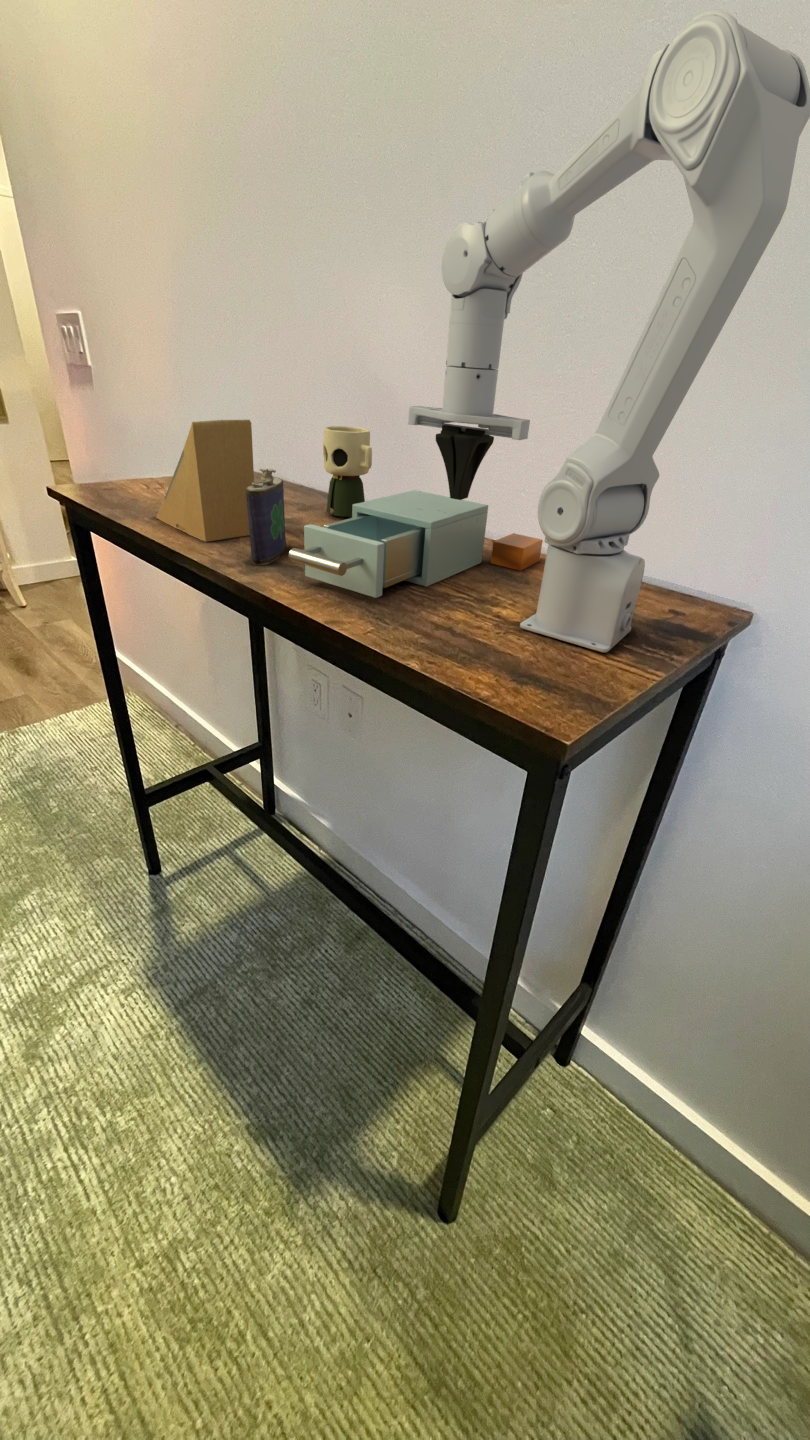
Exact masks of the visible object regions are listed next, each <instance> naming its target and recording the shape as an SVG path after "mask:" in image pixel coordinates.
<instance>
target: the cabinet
mask: <svg viewBox="0 0 810 1440" xmlns="http://www.w3.org/2000/svg"><path fill="white" fill-rule="evenodd" d="M365 514H368V515H372V516H376V517H380V518H385V519H389V520H393V521H397V522H402V523H406V524H410V525H414V526H419V527H423V528H426V529H425V541H424V554H423V567H422V573H421V574H418V575H416V576H413V577H411V578H408V579H406V580H404V581H405V582H409V583H412V584H415V585H418V586H422V587H425V588H427V587H429V586H432V585H434V584H436V583H438V582H441V581H443V580H445V579H448V578H450V577H452V576H455V575H456V574H459V573H461V572H464V571H466V570H468V569H470V568H473V567H475V566H478V565H480V564H481V563H482V560H483V553H484V546H485V537H486V529H487V521H488V514H489V504H486V503H480V502H475V501H471V500H465V499H462V500H457V499H452V498H450V496H445V495H440V494H436V493H431V492H426V491H421V490H416V489H413V490H410V491H404V492H400V493H396V494H391V495H388V496H383V497H379V498H375V499H370V500H365V502H361V503H357V504H353V505H352V518H354V517H358V516H362V515H365Z"/></svg>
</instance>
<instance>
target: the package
mask: <svg viewBox="0 0 810 1440" xmlns="http://www.w3.org/2000/svg"><path fill="white" fill-rule="evenodd" d="M543 542H544V541H543V539H541V538H537V537H532V536H528V535H524V534H519V533H514V532H513V533H510V534H507V535H505V536H503V537H501V538H498V539H496V540H493V541H492V547H491V548H492V549H491V555H490V562H489V563H490V564H492V565H496V566H499V567H504V568H507V569H512V570H515V571H519V572H521V571H522V570H525V569H527V568H528V567H530V566H533V565H535V564H536V563H539V562H540V558H541V553H542V547H543Z"/></svg>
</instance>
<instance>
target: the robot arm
mask: <svg viewBox="0 0 810 1440" xmlns="http://www.w3.org/2000/svg"><path fill="white" fill-rule="evenodd" d="M809 119H810V83H809V78H808V75H807V71H806V68H805V65H804V62H803V61H802V60H801V58H800V57H799V56H798V55H797V54H796V53H794V52H792V51H790V50H789V49H782V48H779V47H778V46H776V45H775V44H773V43H771V42H770V41H768V40H766V39H765V38H763V37H762V36H761V35H758V34H757V33H755V32H753V31H751V30H750V29H749V28H747V27H745V26H743V25H742V24H740V23H739V22H738V20H737V18H736V17H734V16H733V15H731V14H730V13H729V12H727V11H726V10H723V9H710V10H709V9H708V10H706V11H703V12H701V13H699V14H698V15H696V16H694V17H693V18H692V19H690V20H689V21H688V22H687V23H686V24H685V25H684V26H683V27H682V28H680V30H679V31H678V33H676V35H675V36H674V37H673V39H672V40H671V42H670V43H668V44H666V45H664V46H663V47H661V48H660V49H659V50H658V51H656V52H655V53H654V54H653V55H652V56H651V57H650V59H649V61H648V63H647V66H646V69H645V70H644V74H643V77H642V80H641V83H640V85H639V87H638V88H637V89H636V90H635V91H634V92H633V93H632V94H631V96H629V97H628V98H627V100H625V101H624V102H623V103H622V105H621V106H619V108H618V109H617V110H616V111H615V112H613V114H612V115H611V116H610V117H609V118H608V119H607V120H606V121H605V122H604V123H603V124H602V125H601V126H600V127H599V128H598V129H597V131H595V132H594V134H593V135H591V137H590V138H589V139H588V140H587V141H586V142H585V143H584V144H583V145H582V146H581V147H580V148H579V149H578V150H577V151H576V152H575V153H574V154H573V155H572V156H571V158H570V159H569V160H568V161H567V162H566V163H564V164H563V166H561V168H560V169H558V171H556V173H553V172H551V171H548V170H539V171H536V172H533V171H529V172H528V173H527V174H525V176H524V177H522V179H520V186H519V187H518V188H517V189H516V190H515V191H514V192H512V194H511V195H510V196H508V197H507V198H506V199H505V200H504V201H503V202H502V203H501V204H500V205H499V206H498V207H497V208H496V209H495V208H494V209H492V210H491V211H490V212H488V214H487V215H486V218H485V219H484V220H482V221H480V220H479V221H477V222H476V223H471V222H460V223H458V224H457V225H456V227H455V229H454V230H453V232H451V234H450V235H449V237H448V239H447V240H446V243H445V245H444V249H443V253H442V256H441V257H442V258H441V277H442V281H443V284H444V286H445V288H446V290H447V291H448V292H449V293H450V294H451V296H450V297H451V298H450V308H449V309H450V310H449V320H448V322H449V324H448V334H447V346H446V358H445V371H444V382H443V383H444V384H443V395H442V407H434V406H424V405H410V406H409V407H408V419H407V420H408V422H407V424H408V425H409V426H423V427H431V428H437V429H441V430H440V433H436V434H435V442H436V445H437V447H438V449H439V452H440V454H441V458H442V460H443V463H444V467H445V472H446V475H447V476H446V478H447V483H448V491H449V497H450V498H452V499H457V500H465V499H468V498H469V495H470V491H471V488H472V486H473V483H474V480H475V477H476V474H477V472H478V469H479V468H480V465H481V463H482V462H483V459H484V458H485V456H486V455H487V453H488V451H489V449H490V448H491V447H492V446H493V443H494V440H495V437H501V438H507V439H511V440H515V441H523V440H528V438H529V430H530V424H531V420H530V419H526V418H519V417H513V416H508V415H502V414H498V413H494V410H495V409H494V408H495V401H496V393H497V384H498V377H499V376H498V375H499V365H500V358H501V350H502V342H503V341H502V340H503V333H504V324H505V320H506V319H507V318H508V315H509V314H510V313H511V305H512V300H513V297H514V295H515V293H516V291H517V289H518V288H519V286H520V284H521V281H522V278H523V274H524V273H525V272H527V270H529V269H530V268H531V267H533V266H534V265H535V264H537V263H538V262H539V261H541V260H542V259H543V258H544V257H546V256H547V255H548V254H550V253H551V252H552V251H554V250H555V249H556V248H558V247H559V246H560V245H561V244H563V243H564V242H565V241H567V240H568V238H569V237H570V235H571V233H572V230H573V226H574V223H575V217H576V215H577V214H579V213H580V212H582V211H584V209H586V208H588V206H591V205H592V204H593V203H594V202H596V201H597V200H599V199H601V198H603V196H605V195H607V194H608V193H609V192H611V191H612V190H613V189H615V188H616V187H618V186H619V185H620V184H622V183H623V182H625V181H626V180H628V179H629V178H631V177H633V175H635V174H636V173H638V172H639V171H640V170H642V169H644V168H645V167H646V166H648V165H649V164H651V163H652V162H654V161H671V162H673V163H674V164H675V166H676V168H677V169H678V170H679V172H680V174H681V175H682V177H683V181H684V185H685V189H686V192H687V193H686V194H687V197H688V201H689V204H690V208H691V212H692V216H693V217H692V223H691V226H690V228H689V230H688V232H687V234H686V237H685V239H684V240H683V243H682V246H681V247H680V250H679V252H678V254H677V256H676V258H675V259H674V262H673V265H672V266H671V269H670V270H669V273H668V275H667V278H666V280H665V281H664V284H663V286H662V287H661V290H660V292H659V295H658V297H657V299H656V301H655V303H654V305H653V307H652V309H651V312H650V314H649V316H648V318H647V321H646V323H645V325H644V326H643V329H642V331H641V333H640V336H639V337H638V339H637V341H636V344H635V346H634V348H633V350H632V352H631V355H630V357H629V359H628V361H627V363H626V365H625V368H624V370H623V372H622V374H621V376H620V378H619V380H618V382H617V385H616V387H615V389H614V391H613V393H612V395H611V397H610V400H609V402H608V404H607V406H606V408H605V411H604V412H603V415H602V417H601V419H600V421H599V423H598V425H597V427H596V430H595V432H594V433H593V435H591V436H590V437H589V438H588V439H587V440H585V441H584V442H582V444H580V445H579V446H578V447H576V448H575V449H573V451H572V452H570V453H569V454H568V455H567V456H566V457H565V459H564V462H563V464H562V466H561V468H560V469H559V471H558V473H557V474H556V475H555V476H554V477H552V479H550V480H549V482H547V484H546V485H545V486H544V487H543V489H542V491H541V493H540V496H539V498H538V504H537V519H538V524H539V527H540V530H541V532H542V534H543V535H544V543H545V544H548V545H547V549H546V550H547V551H546V556H545V562H544V568H543V572H542V578H541V584H540V591H539V595H538V601H537V606H536V613H534V614H533V615H531V616H529V617H528V618H526V619H525V620H523V621H521V622H520V623H519V628H520V629H522V630H525V631H529V632H532V633H536V634H539V635H543V636H546V637H549V638H552V639H556V640H559V641H563V642H565V643H570V644H573V645H576V646H579V647H584V648H586V649H589V650H592V651H596V652H599V653H604V654H605V653H608V652H609V651H611V650H612V649H613V648H614V647H615V646H616V645H617V644H618V643H619V642H620V641H621V640H622V639H623V638H625V637H626V636H627V635H628V634H629V633H631V631H632V622H633V617H634V614H635V610H636V606H637V602H638V598H639V595H640V591H641V586H642V583H643V578H644V574H645V566H646V562H645V559H644V558H643V557H641V556H638V555H634V554H631V553H629V552H628V551H626V550H625V547H626V546H628V544H629V539H630V535H631V534H633V533H635V532H637V530H639V529H640V528H641V527H642V525H643V524H644V522H645V521H646V519H647V515H648V514H649V510H650V505H651V496H652V492H653V490H654V488H655V485H656V484H657V482H658V480H659V478H660V471H659V468H658V467H657V465H656V462H655V459H654V458H653V457H654V454H655V452H656V451H657V449H658V447H659V445H660V443H661V441H662V440H663V438H664V436H665V434H666V433H667V430H668V429H669V427H670V425H671V423H672V421H673V420H674V417H675V415H676V414H677V412H678V411H679V408H680V407H681V405H682V403H683V401H684V399H685V397H686V396H687V394H688V392H689V390H690V389H691V386H692V385H693V383H694V381H695V379H696V377H697V376H698V374H699V372H700V370H701V368H702V367H703V365H704V364H705V363H704V362H705V361H706V358H707V357H708V355H709V353H710V351H711V350H712V348H713V346H714V344H715V343H716V341H717V339H718V337H719V336H720V333H721V331H722V330H723V328H724V326H725V324H726V322H727V321H728V318H729V317H730V315H731V313H732V311H733V309H734V308H735V306H736V304H737V302H738V300H739V299H740V297H741V295H742V293H743V291H744V290H745V287H746V286H747V284H748V283H749V280H750V278H751V277H752V275H753V273H754V271H755V270H756V267H757V265H758V264H759V262H760V260H761V258H762V256H763V255H764V253H765V251H766V249H767V247H768V246H769V244H770V242H771V240H772V238H773V237H774V234H775V232H776V231H777V229H778V227H779V225H780V224H781V221H782V219H783V217H784V215H785V212H786V210H787V206H788V202H789V197H790V192H791V185H792V179H793V175H794V168H795V162H796V157H797V151H798V146H799V140H800V138H801V137H800V136H801V135H802V133H803V131H804V129H805V127H806V125H807V123H808V121H809ZM454 423H459V424H454ZM462 424H467V425H462ZM468 425H477V427H476V426H475V427H474V426H468Z"/></svg>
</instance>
